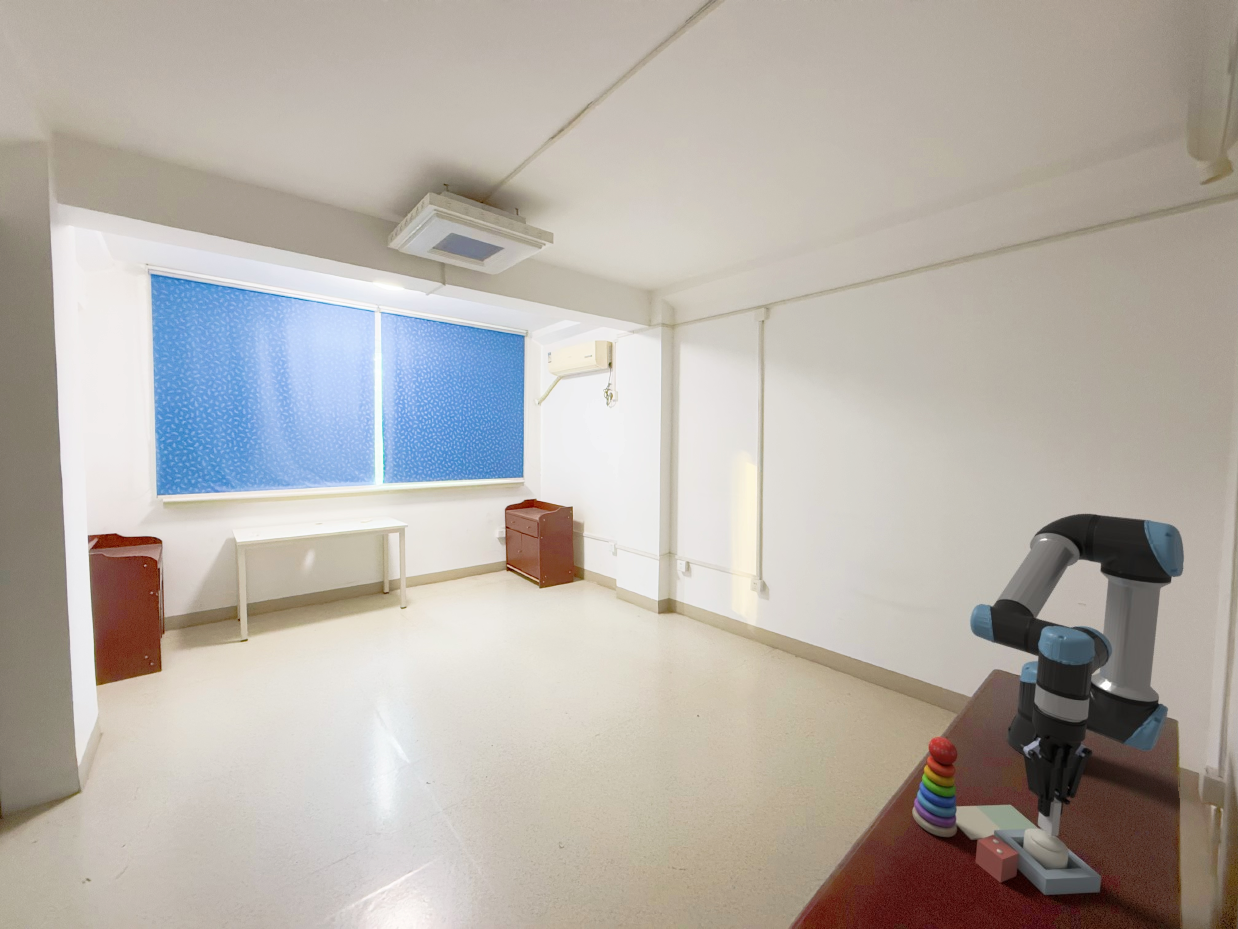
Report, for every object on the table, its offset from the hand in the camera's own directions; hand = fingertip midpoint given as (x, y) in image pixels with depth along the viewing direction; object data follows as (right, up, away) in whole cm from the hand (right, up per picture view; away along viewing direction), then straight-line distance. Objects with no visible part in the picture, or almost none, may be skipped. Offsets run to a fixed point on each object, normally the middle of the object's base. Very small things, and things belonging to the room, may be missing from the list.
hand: (1047, 830), depth 95 cm
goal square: (+2, -7, +12) cm, 13 cm away
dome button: (0, -6, 0) cm, 6 cm away
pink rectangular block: (-11, -7, -1) cm, 13 cm away
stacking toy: (-16, -6, +10) cm, 20 cm away
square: (-7, -6, +11) cm, 14 cm away
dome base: (-1, -7, 0) cm, 7 cm away
